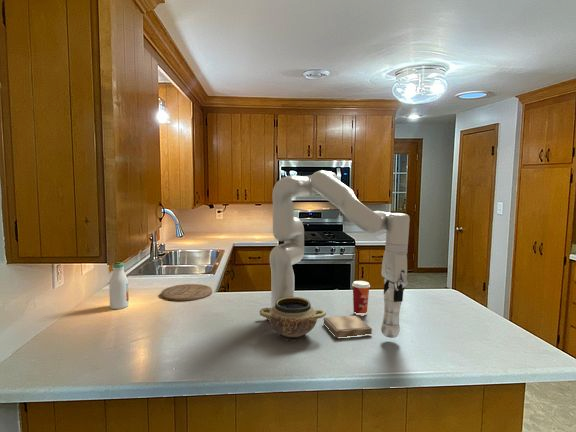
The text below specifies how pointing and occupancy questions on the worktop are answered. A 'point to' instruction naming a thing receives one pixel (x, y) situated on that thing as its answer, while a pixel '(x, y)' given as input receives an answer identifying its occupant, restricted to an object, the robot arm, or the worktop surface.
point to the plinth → (347, 326)
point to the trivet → (186, 292)
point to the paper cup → (360, 296)
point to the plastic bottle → (391, 313)
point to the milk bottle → (118, 288)
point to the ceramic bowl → (292, 317)
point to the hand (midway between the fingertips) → (392, 297)
